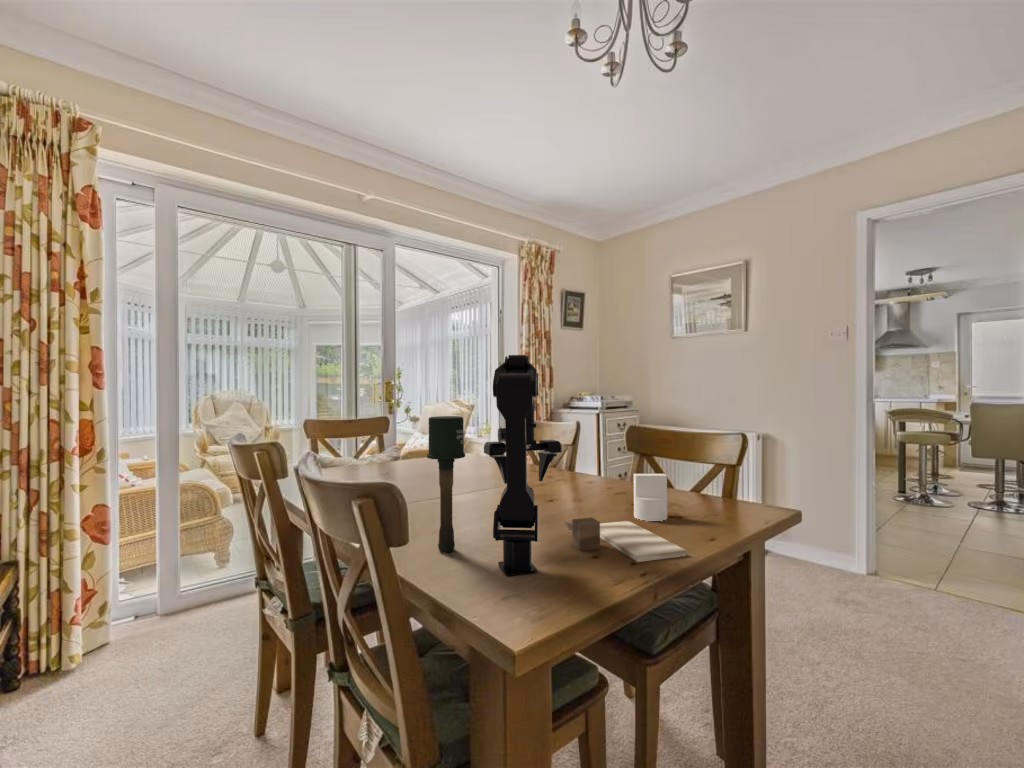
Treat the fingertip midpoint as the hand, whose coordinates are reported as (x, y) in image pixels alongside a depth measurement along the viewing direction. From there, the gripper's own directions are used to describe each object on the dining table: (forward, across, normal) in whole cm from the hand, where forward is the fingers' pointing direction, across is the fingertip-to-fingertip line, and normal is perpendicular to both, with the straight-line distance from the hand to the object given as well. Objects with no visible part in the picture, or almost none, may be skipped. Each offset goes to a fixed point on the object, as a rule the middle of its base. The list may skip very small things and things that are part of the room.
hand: (523, 482), depth 115 cm
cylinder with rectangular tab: (+13, -40, -4) cm, 42 cm away
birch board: (+13, -23, +12) cm, 29 cm away
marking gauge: (+13, -11, +8) cm, 19 cm away
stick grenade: (+14, +20, +4) cm, 24 cm away
